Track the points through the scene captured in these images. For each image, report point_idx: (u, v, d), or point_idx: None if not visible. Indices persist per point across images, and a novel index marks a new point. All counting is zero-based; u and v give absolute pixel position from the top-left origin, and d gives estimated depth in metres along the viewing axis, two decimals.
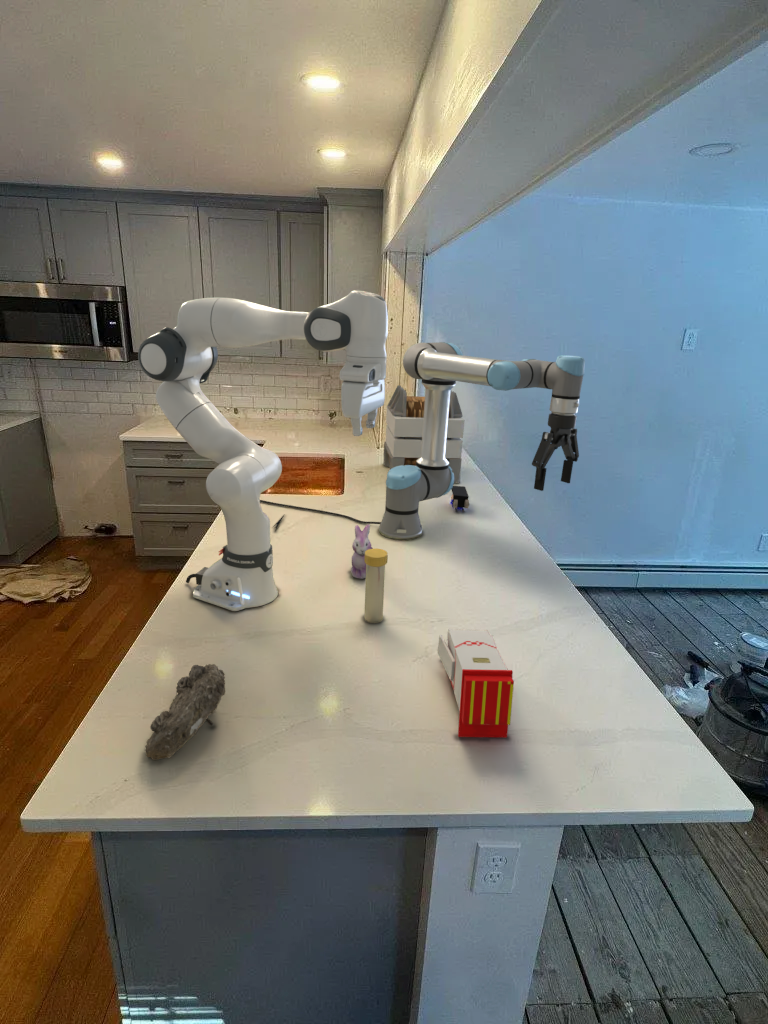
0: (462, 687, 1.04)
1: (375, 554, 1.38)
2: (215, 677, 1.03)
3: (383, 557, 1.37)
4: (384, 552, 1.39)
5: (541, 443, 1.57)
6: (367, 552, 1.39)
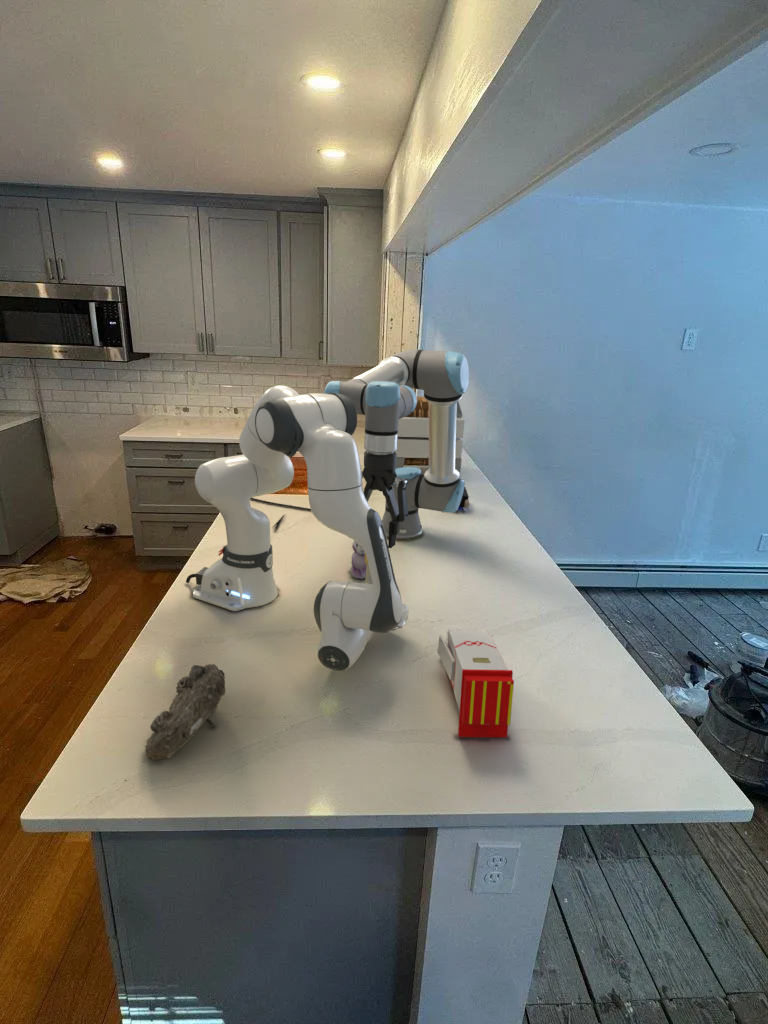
0: (462, 687, 1.04)
1: None
2: (215, 677, 1.03)
3: None
4: None
5: (403, 494, 1.30)
6: None
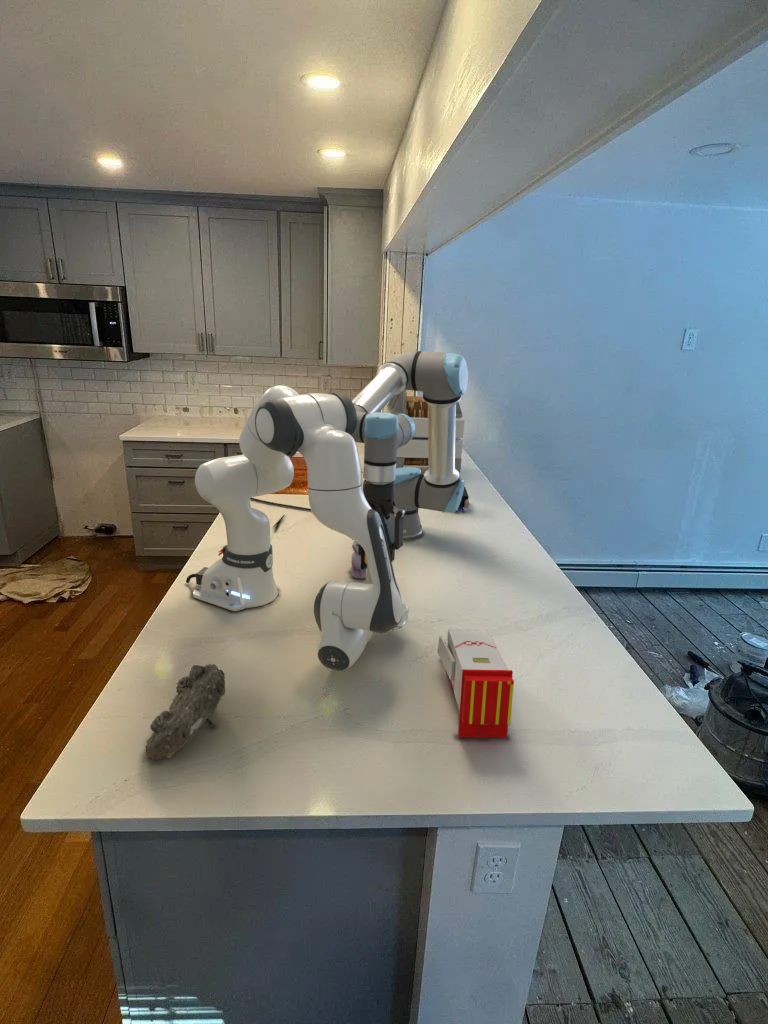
0: (462, 687, 1.04)
1: None
2: (215, 677, 1.03)
3: None
4: None
5: (400, 524, 1.33)
6: None
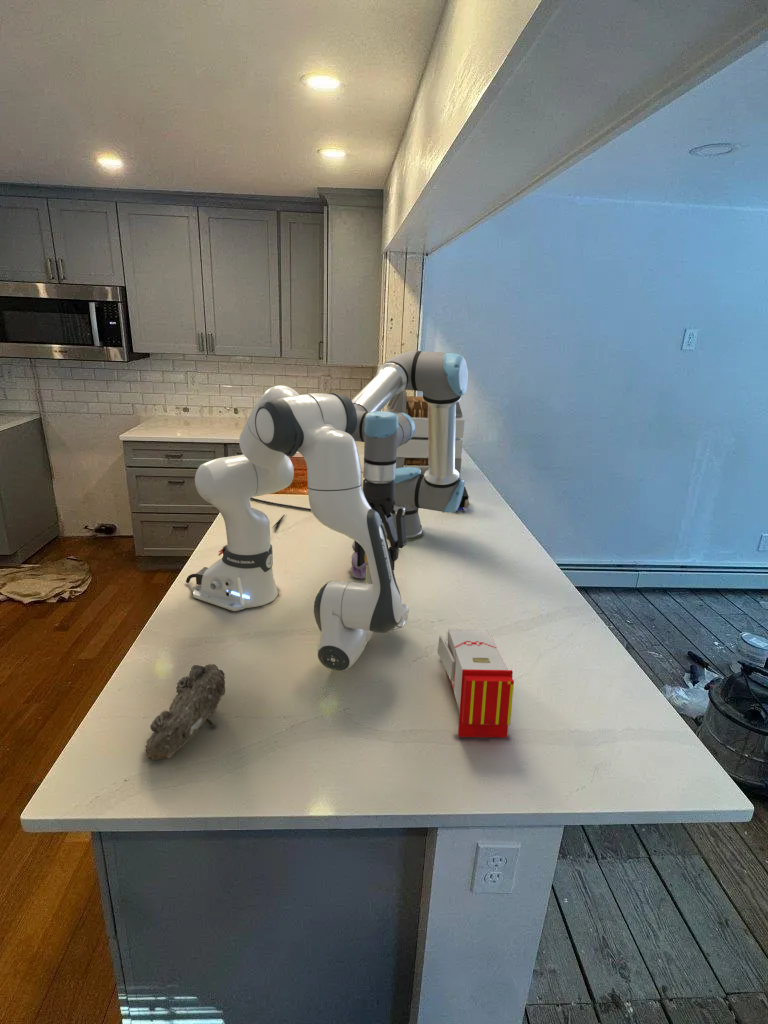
0: (462, 687, 1.04)
1: None
2: (215, 677, 1.03)
3: None
4: None
5: (401, 522, 1.32)
6: None
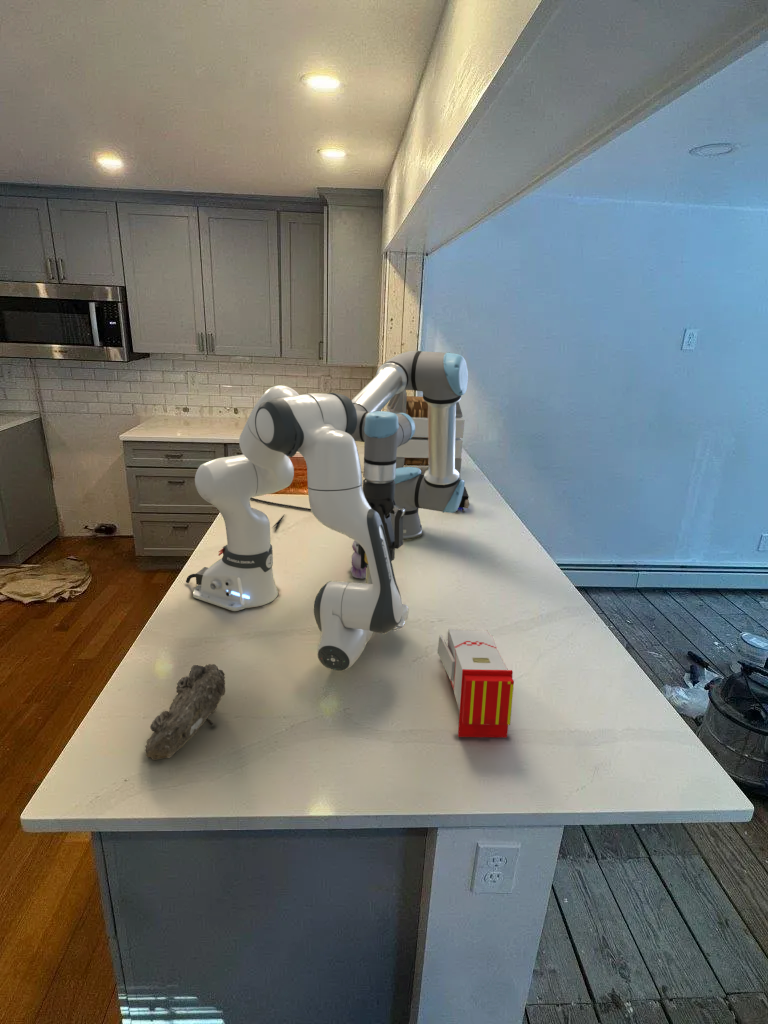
0: (462, 687, 1.04)
1: None
2: (215, 677, 1.03)
3: None
4: None
5: (400, 523, 1.32)
6: None
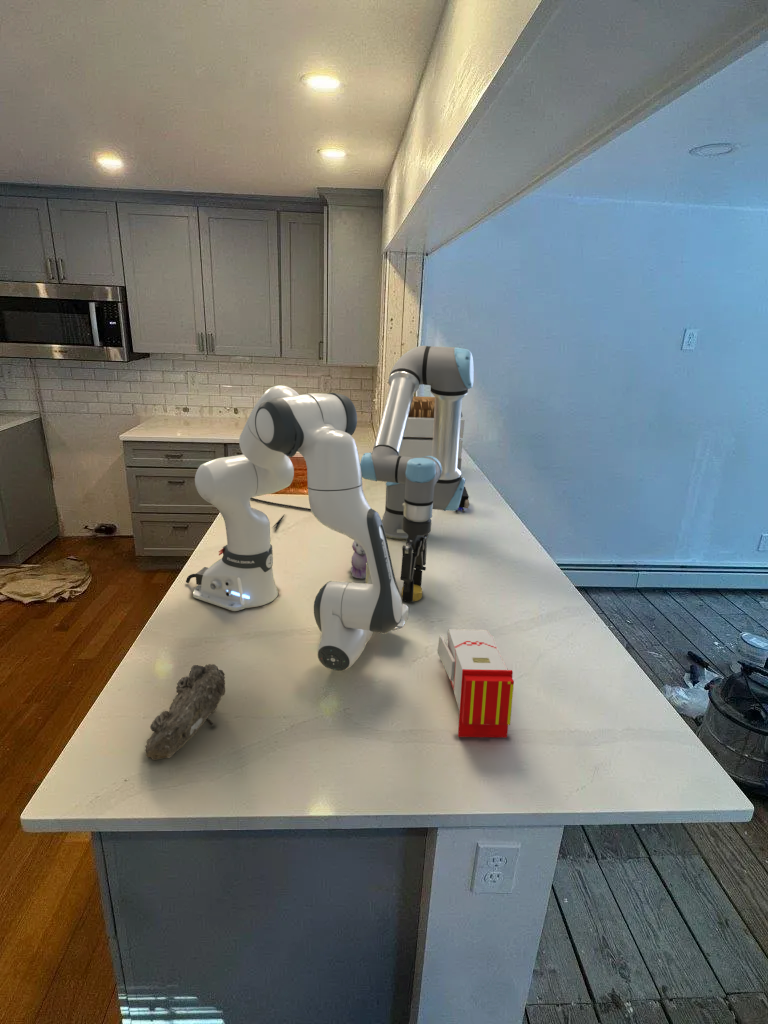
0: (462, 687, 1.04)
1: None
2: (215, 677, 1.03)
3: None
4: None
5: None
6: (419, 588, 1.56)
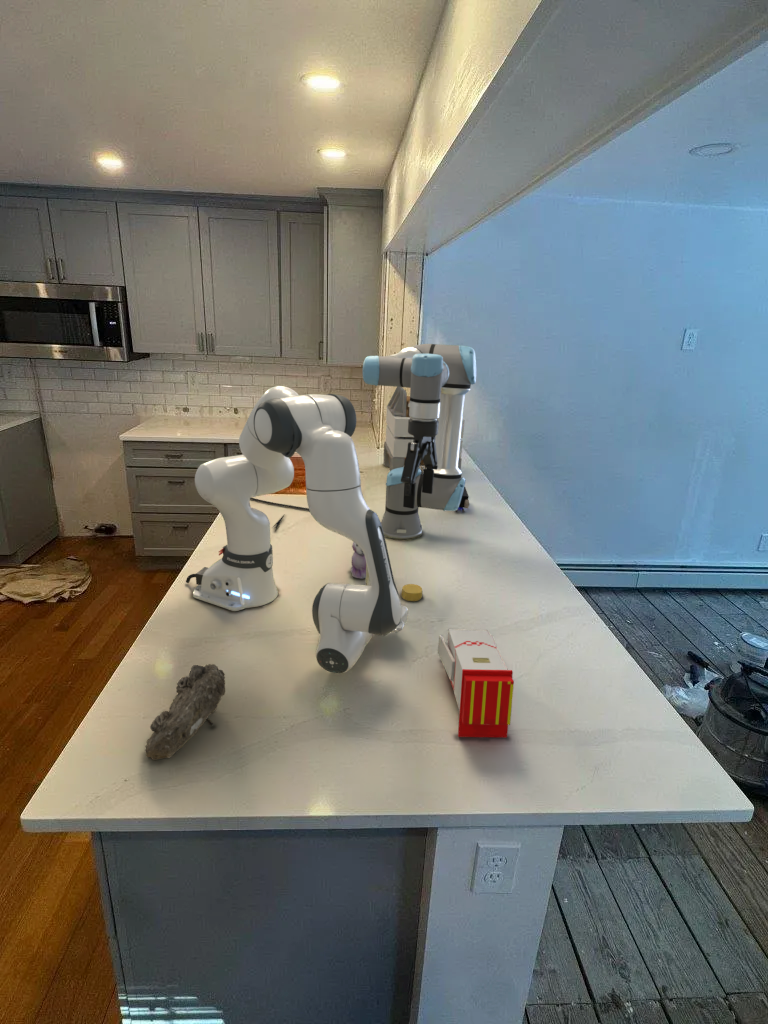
0: (462, 687, 1.04)
1: (412, 587, 1.57)
2: (215, 677, 1.03)
3: None
4: (405, 589, 1.55)
5: None
6: (419, 588, 1.56)
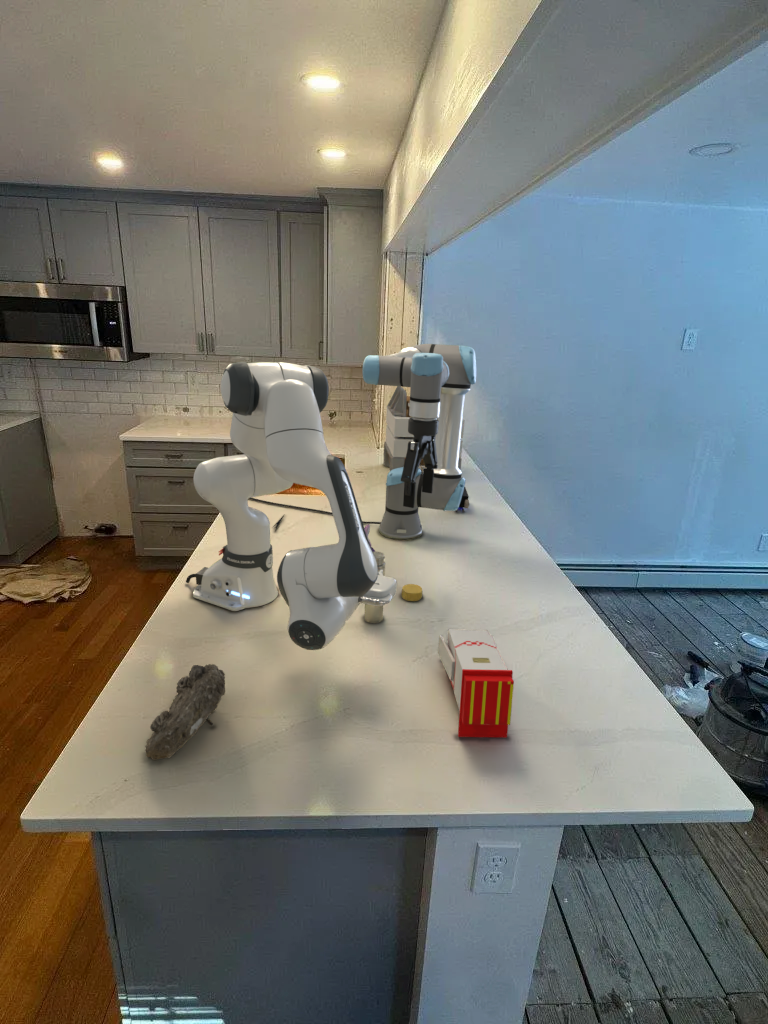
0: (462, 687, 1.04)
1: (412, 587, 1.57)
2: (215, 677, 1.03)
3: None
4: (405, 589, 1.55)
5: None
6: (419, 588, 1.56)
